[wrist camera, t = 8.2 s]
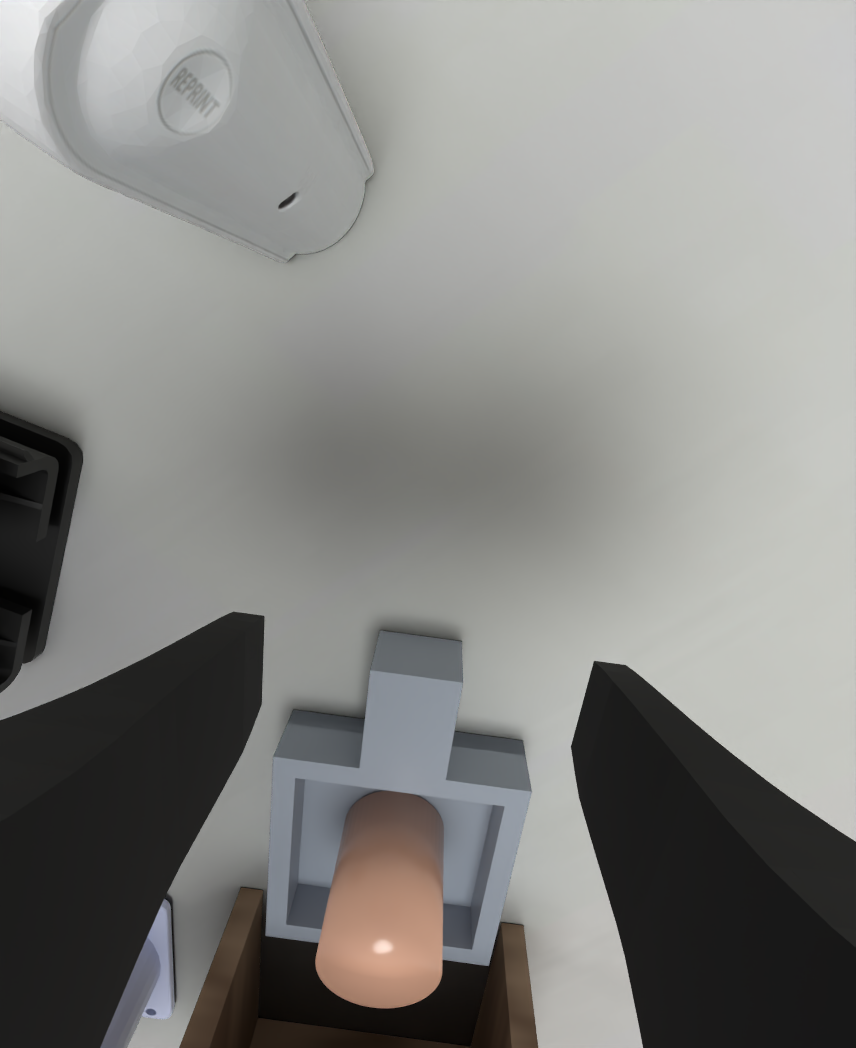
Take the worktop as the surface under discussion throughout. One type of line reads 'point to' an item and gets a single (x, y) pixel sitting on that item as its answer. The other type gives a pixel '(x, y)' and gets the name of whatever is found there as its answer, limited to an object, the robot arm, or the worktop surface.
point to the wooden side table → (262, 1044)
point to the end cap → (31, 534)
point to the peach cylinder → (385, 904)
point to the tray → (402, 766)
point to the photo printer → (192, 112)
